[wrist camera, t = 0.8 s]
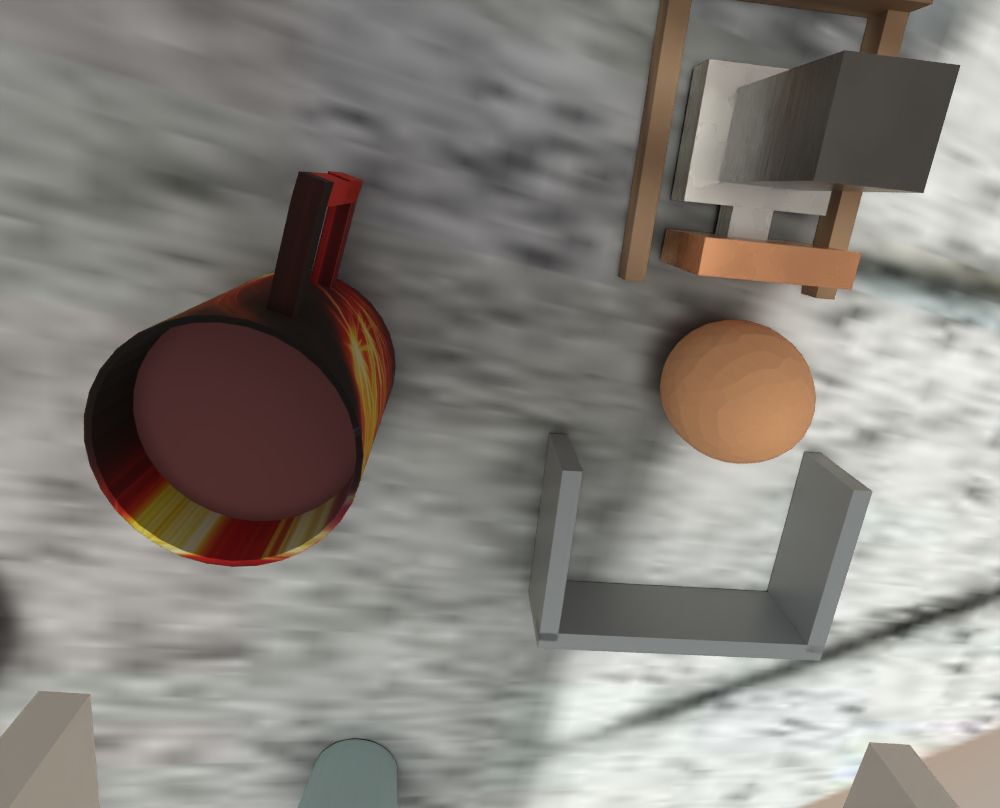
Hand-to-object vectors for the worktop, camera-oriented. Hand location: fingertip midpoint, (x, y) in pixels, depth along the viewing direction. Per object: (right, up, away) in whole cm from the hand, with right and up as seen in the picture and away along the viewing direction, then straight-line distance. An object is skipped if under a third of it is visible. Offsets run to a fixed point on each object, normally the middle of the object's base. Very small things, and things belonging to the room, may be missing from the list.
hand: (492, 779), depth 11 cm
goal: (+10, -1, +28) cm, 29 cm away
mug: (-11, +11, +23) cm, 27 cm away
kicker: (+12, +18, +21) cm, 30 cm away
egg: (+11, +9, +25) cm, 29 cm away
